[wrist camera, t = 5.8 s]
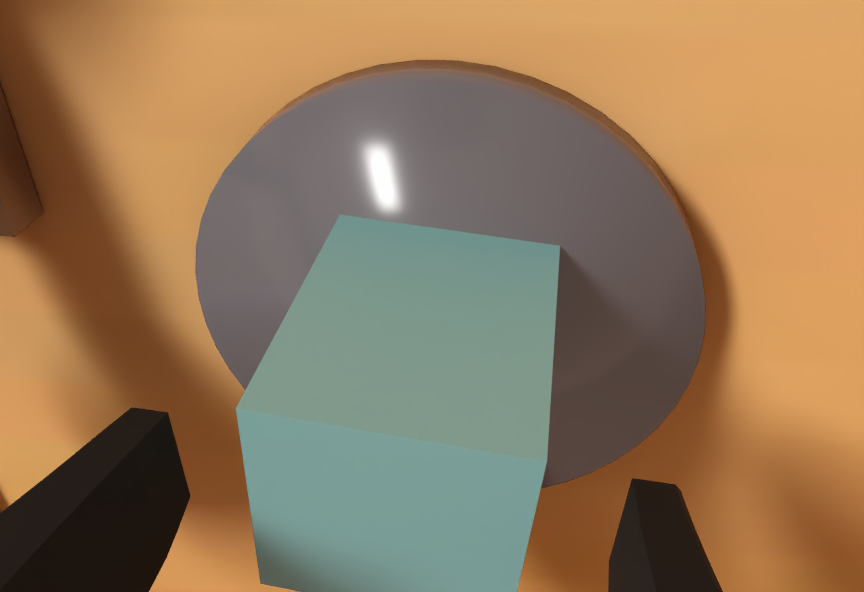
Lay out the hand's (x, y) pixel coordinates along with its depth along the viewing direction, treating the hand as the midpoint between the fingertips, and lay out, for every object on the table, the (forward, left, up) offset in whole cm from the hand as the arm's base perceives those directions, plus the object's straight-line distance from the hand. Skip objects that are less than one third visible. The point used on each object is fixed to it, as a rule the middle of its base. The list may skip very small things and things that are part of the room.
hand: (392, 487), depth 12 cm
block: (0, 0, -4) cm, 4 cm away
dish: (0, 0, -5) cm, 5 cm away
